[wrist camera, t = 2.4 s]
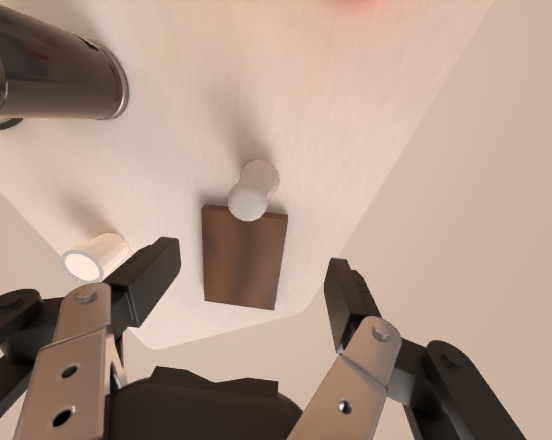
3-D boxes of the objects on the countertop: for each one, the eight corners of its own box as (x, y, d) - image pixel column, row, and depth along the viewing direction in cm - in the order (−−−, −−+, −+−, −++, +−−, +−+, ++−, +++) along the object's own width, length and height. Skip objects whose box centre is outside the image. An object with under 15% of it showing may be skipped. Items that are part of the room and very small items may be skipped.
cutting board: (208, 293, 45) (204, 300, 43) (205, 204, 36) (201, 208, 34) (274, 302, 45) (274, 310, 43) (288, 215, 36) (287, 220, 34)
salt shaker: (283, 190, 34) (278, 227, 23) (248, 196, 35) (227, 234, 23) (276, 153, 32) (266, 172, 20) (239, 160, 33) (210, 183, 21)
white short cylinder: (124, 228, 39) (92, 249, 33) (137, 260, 42) (109, 284, 36) (90, 230, 40) (52, 250, 34) (104, 260, 43) (72, 284, 37)
